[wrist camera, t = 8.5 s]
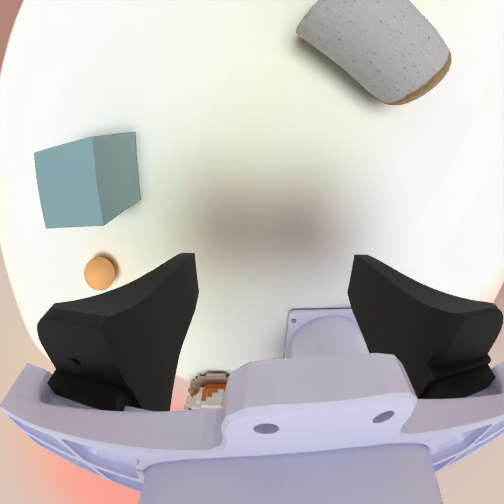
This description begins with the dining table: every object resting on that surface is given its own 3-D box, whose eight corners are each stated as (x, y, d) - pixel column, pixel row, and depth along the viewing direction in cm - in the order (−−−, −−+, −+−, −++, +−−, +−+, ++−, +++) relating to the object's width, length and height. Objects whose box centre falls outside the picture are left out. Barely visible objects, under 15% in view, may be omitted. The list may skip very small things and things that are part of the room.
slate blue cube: (140, 199, 20) (103, 225, 15) (87, 203, 20) (46, 228, 15) (135, 132, 18) (92, 136, 13) (80, 142, 18) (33, 152, 13)
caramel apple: (183, 369, 29) (154, 485, 15) (250, 369, 28) (244, 496, 15) (199, 404, 32) (182, 502, 19) (257, 404, 31) (254, 508, 18)
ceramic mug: (373, 115, 17) (431, 112, 10) (287, 45, 15) (303, 0, 8) (433, 42, 13) (489, 24, 6) (360, -22, 11) (395, -65, 4)
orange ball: (123, 280, 24) (109, 298, 21) (98, 278, 24) (83, 295, 21) (116, 251, 22) (101, 267, 20) (91, 251, 22) (74, 266, 20)
